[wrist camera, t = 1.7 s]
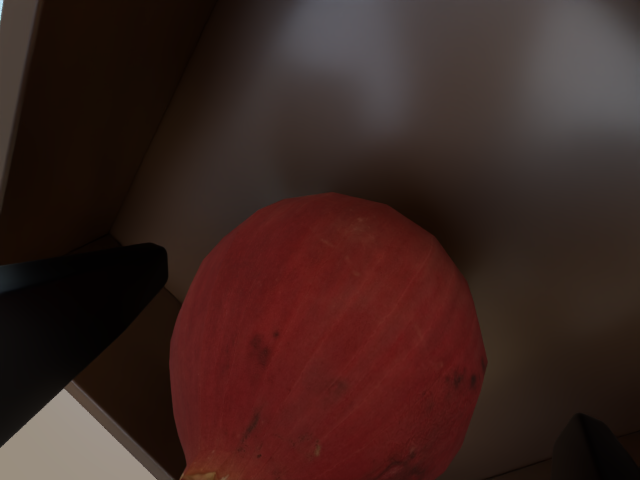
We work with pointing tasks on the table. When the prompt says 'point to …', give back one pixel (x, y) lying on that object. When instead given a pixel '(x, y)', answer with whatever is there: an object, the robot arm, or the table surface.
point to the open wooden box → (347, 177)
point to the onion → (325, 348)
